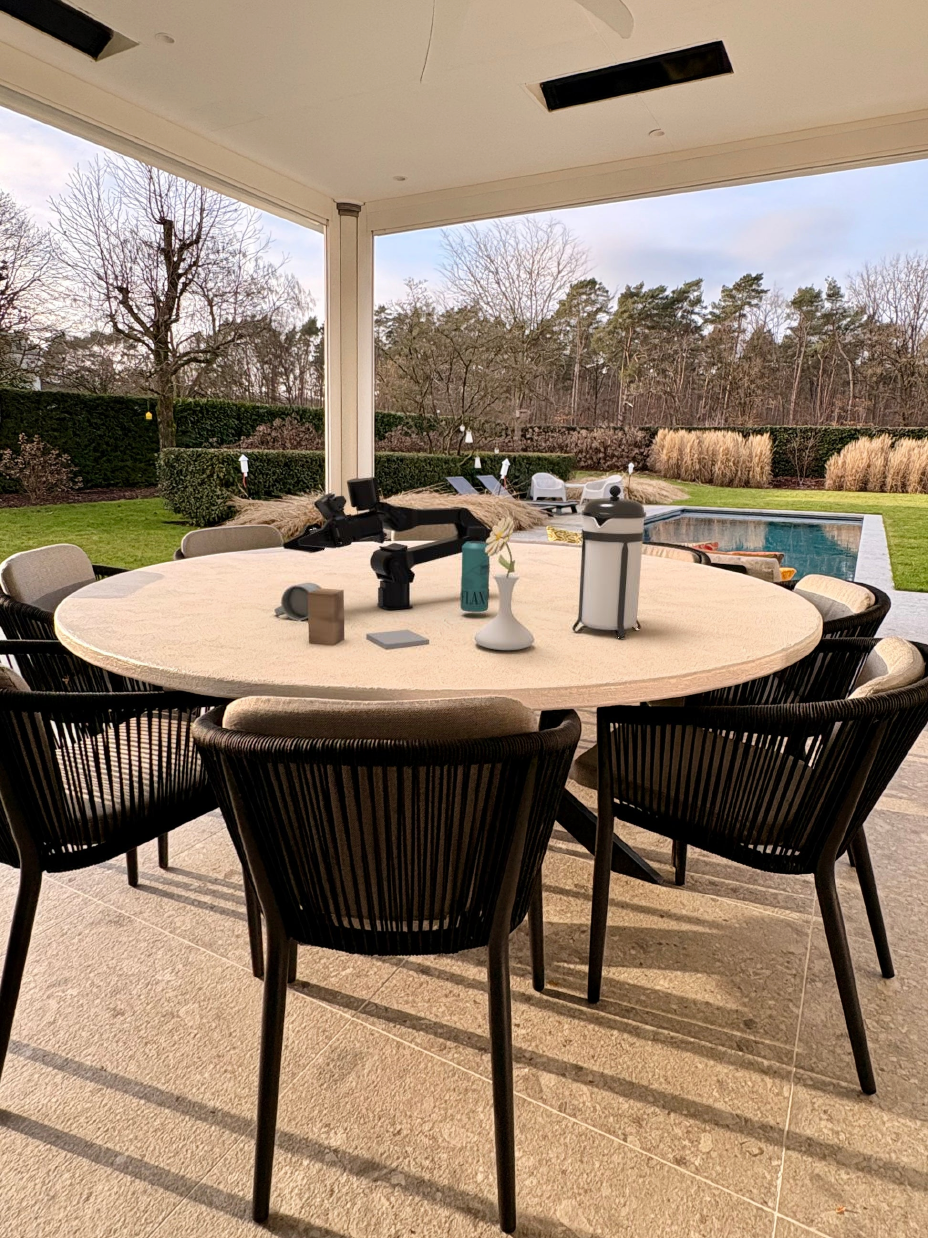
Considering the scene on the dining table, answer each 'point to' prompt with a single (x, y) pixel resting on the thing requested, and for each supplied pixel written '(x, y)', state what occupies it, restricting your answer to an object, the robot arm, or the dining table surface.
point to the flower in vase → (503, 599)
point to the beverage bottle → (475, 573)
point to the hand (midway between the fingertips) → (291, 544)
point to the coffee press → (610, 563)
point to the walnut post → (326, 616)
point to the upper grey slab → (397, 639)
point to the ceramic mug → (296, 601)
